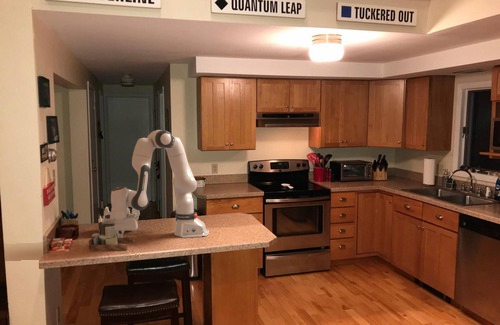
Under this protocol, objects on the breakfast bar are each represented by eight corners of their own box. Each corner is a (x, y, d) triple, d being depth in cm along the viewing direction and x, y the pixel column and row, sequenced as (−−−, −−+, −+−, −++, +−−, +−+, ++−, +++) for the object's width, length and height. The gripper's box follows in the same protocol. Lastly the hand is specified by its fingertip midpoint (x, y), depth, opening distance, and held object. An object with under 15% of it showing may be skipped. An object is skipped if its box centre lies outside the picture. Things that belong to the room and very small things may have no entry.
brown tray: (134, 241, 241) (133, 232, 240) (126, 250, 225) (126, 240, 224) (99, 242, 240) (98, 232, 240) (89, 250, 224) (88, 240, 224)
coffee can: (96, 249, 227) (95, 225, 226) (102, 243, 237) (101, 220, 236) (115, 248, 228) (114, 224, 226) (119, 243, 238) (118, 220, 236)
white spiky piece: (99, 238, 262) (138, 231, 273) (101, 233, 247) (142, 226, 258) (96, 211, 267) (134, 206, 278) (97, 204, 252) (137, 199, 263)
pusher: (103, 242, 238) (102, 231, 238) (96, 248, 226) (95, 237, 226) (97, 242, 238) (96, 231, 237) (89, 249, 226) (89, 237, 226)
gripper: (138, 213, 234) (139, 235, 235) (103, 213, 233) (104, 236, 235) (136, 215, 228) (136, 239, 229) (100, 216, 227) (101, 239, 228)
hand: (120, 237), depth 232 cm, fingers closed
